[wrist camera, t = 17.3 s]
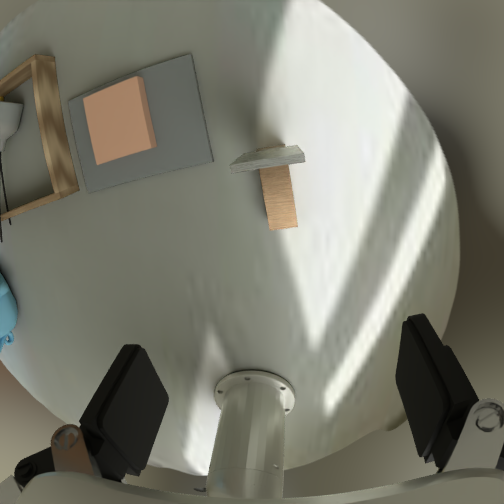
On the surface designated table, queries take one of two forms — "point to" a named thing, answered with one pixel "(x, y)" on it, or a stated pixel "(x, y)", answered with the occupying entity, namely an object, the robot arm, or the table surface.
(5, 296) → the decorative pot
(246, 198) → the table surface
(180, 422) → the table surface
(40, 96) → the wooden frame
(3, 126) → the reed diffuser
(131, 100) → the tile
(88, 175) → the mat
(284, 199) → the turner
